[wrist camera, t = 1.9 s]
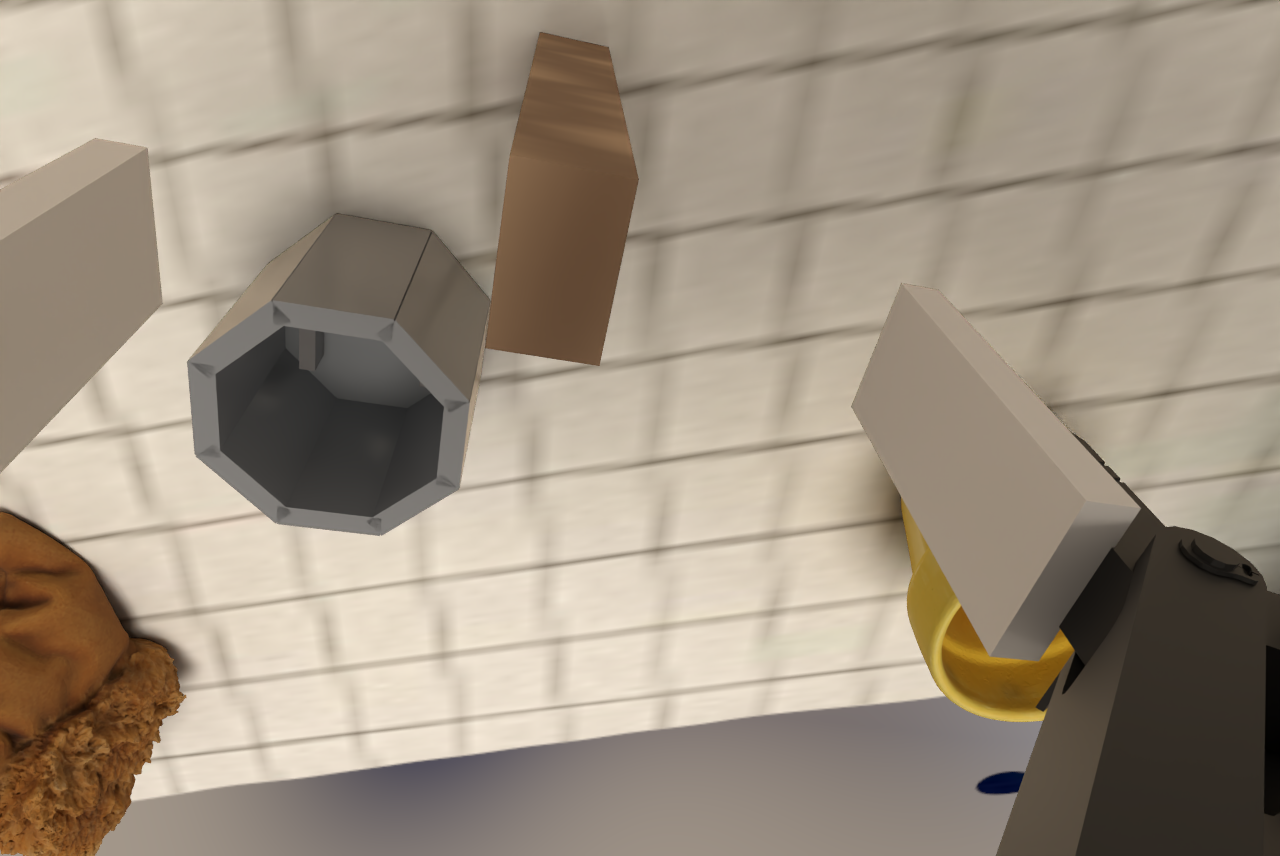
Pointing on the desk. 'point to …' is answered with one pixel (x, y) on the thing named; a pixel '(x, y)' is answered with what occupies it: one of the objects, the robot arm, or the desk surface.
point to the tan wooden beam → (563, 208)
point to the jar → (344, 379)
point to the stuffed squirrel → (69, 700)
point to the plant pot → (971, 646)
